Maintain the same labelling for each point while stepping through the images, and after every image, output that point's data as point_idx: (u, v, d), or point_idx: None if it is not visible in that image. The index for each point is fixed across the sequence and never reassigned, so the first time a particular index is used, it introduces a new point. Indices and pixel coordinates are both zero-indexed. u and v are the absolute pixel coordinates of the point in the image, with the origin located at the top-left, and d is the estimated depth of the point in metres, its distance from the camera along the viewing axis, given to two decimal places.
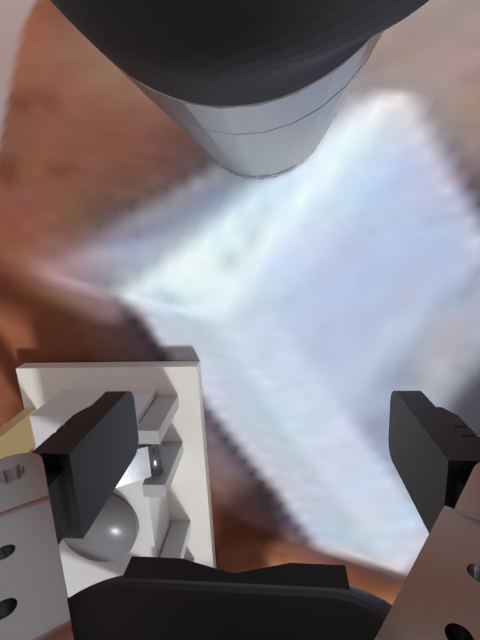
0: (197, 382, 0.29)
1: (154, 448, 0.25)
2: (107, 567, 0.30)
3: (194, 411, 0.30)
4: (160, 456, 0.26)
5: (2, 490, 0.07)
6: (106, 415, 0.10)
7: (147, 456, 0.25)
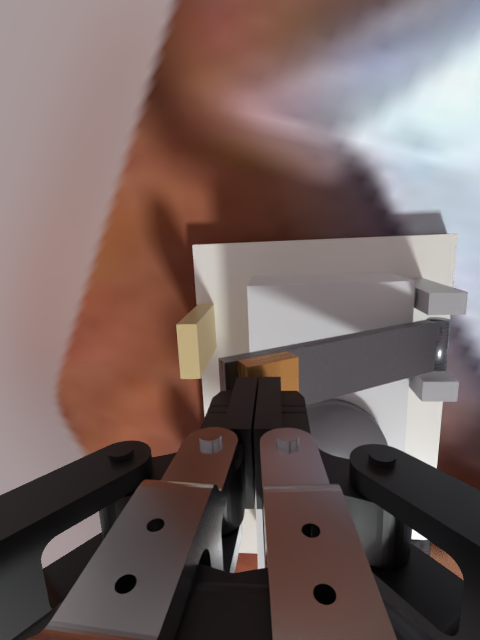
0: (453, 258, 0.21)
1: (446, 325, 0.17)
2: None
3: None
4: None
5: (221, 458, 0.07)
6: (255, 397, 0.11)
7: (436, 337, 0.17)
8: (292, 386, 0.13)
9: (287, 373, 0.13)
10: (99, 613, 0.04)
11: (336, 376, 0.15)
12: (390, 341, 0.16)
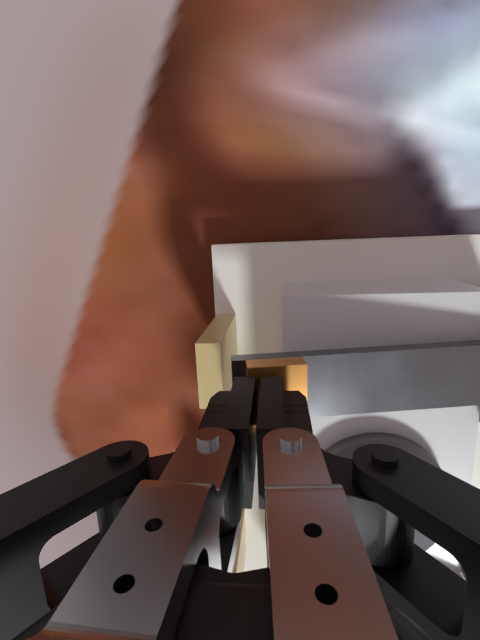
0: None
1: None
2: None
3: None
4: None
5: (218, 458, 0.07)
6: (252, 397, 0.11)
7: None
8: None
9: (293, 379, 0.12)
10: (97, 613, 0.04)
11: (364, 390, 0.14)
12: (442, 359, 0.14)
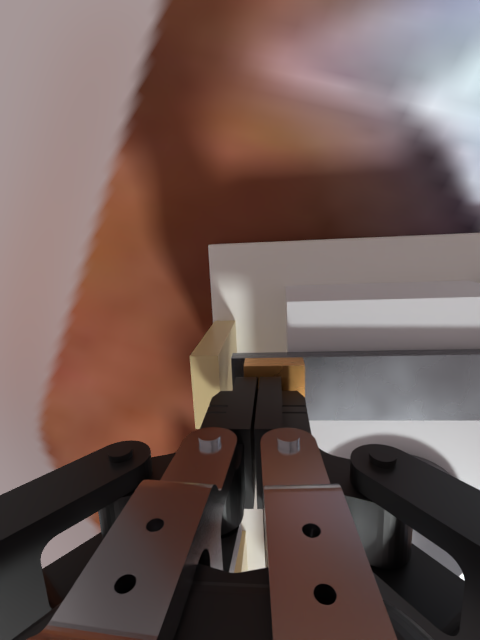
0: None
1: None
2: None
3: None
4: None
5: (220, 458, 0.07)
6: (254, 397, 0.11)
7: None
8: None
9: (290, 380, 0.12)
10: (98, 613, 0.04)
11: (370, 396, 0.13)
12: (459, 368, 0.12)
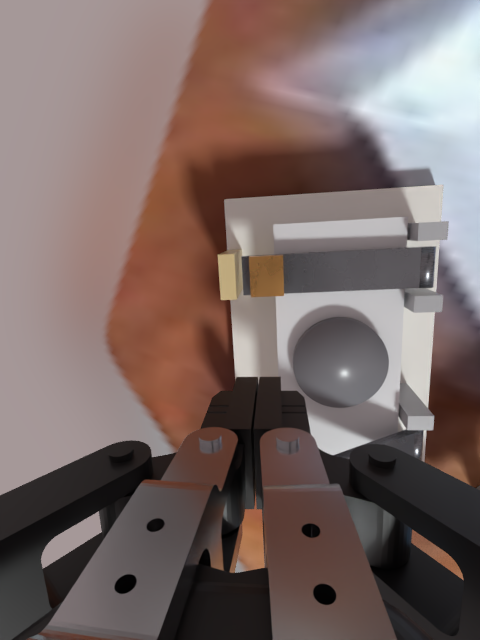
0: (440, 205, 0.25)
1: (429, 250, 0.22)
2: (336, 420, 0.26)
3: (432, 243, 0.26)
4: (434, 264, 0.22)
5: (221, 458, 0.07)
6: (254, 397, 0.11)
7: (419, 260, 0.22)
8: (278, 273, 0.22)
9: (275, 264, 0.22)
10: (99, 613, 0.04)
11: (321, 277, 0.23)
12: (370, 258, 0.22)
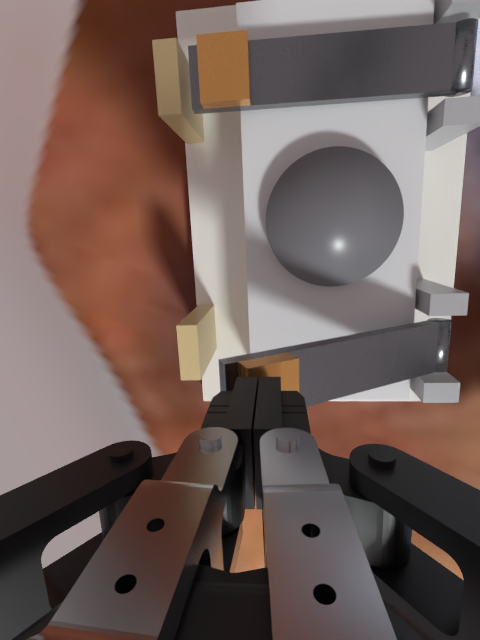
0: None
1: (468, 25, 0.14)
2: (327, 312, 0.18)
3: None
4: (474, 50, 0.15)
5: (221, 458, 0.07)
6: (255, 397, 0.11)
7: (452, 43, 0.15)
8: (241, 61, 0.15)
9: (235, 46, 0.14)
10: (99, 613, 0.04)
11: (306, 76, 0.15)
12: (379, 42, 0.15)
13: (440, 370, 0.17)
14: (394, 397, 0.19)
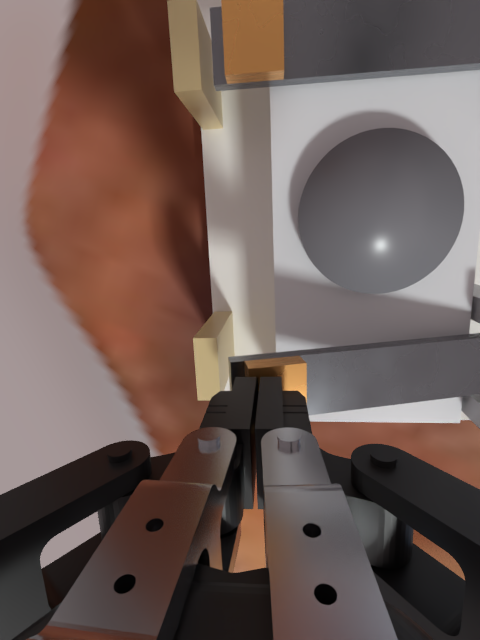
0: None
1: None
2: (367, 323, 0.16)
3: None
4: None
5: (219, 458, 0.07)
6: (253, 397, 0.11)
7: None
8: (275, 23, 0.12)
9: (268, 5, 0.12)
10: (98, 613, 0.04)
11: (351, 43, 0.13)
12: (441, 0, 0.12)
13: None
14: (442, 420, 0.16)
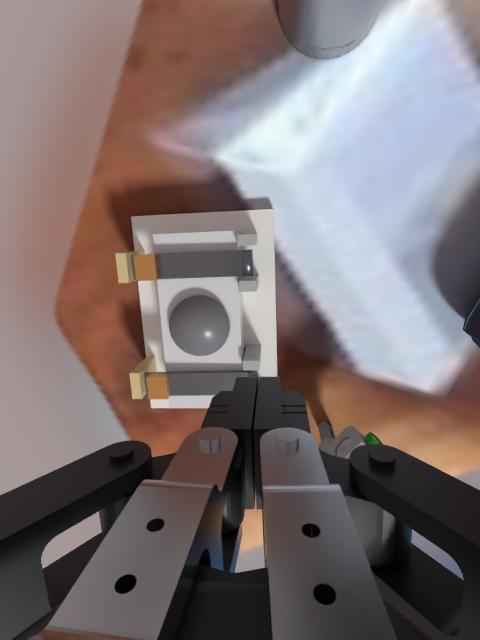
0: (273, 222, 0.38)
1: (247, 252, 0.34)
2: (202, 366, 0.38)
3: (269, 247, 0.39)
4: (251, 261, 0.34)
5: (221, 458, 0.07)
6: (255, 397, 0.11)
7: (241, 258, 0.34)
8: (152, 265, 0.34)
9: (149, 260, 0.34)
10: (99, 613, 0.04)
11: (182, 268, 0.35)
12: (211, 256, 0.35)
13: None
14: None
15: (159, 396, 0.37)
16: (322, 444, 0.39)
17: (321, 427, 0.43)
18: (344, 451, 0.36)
